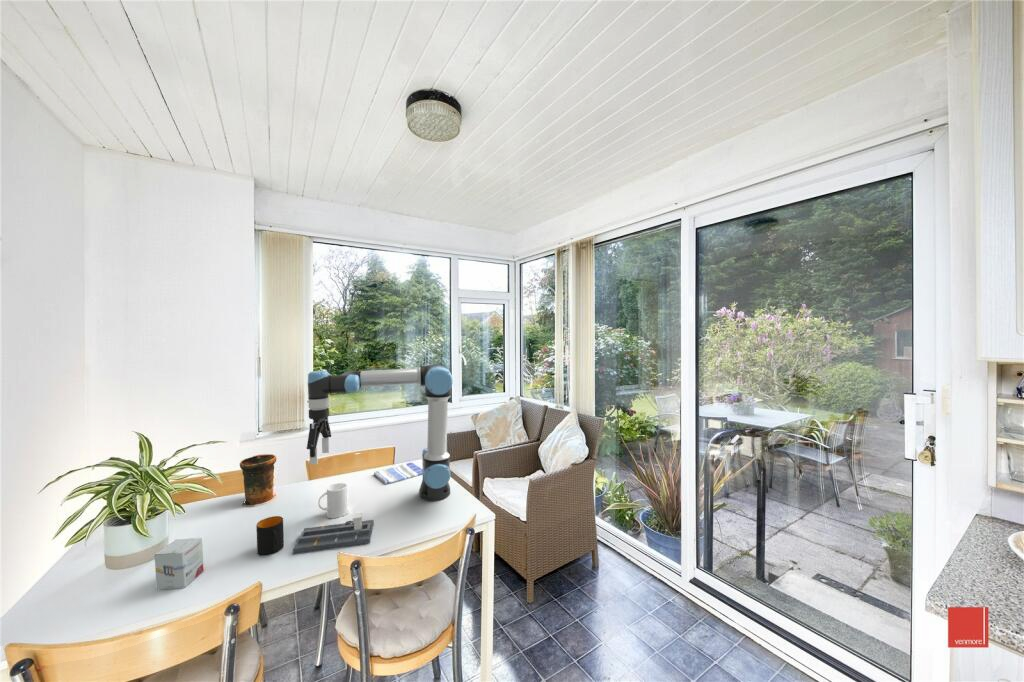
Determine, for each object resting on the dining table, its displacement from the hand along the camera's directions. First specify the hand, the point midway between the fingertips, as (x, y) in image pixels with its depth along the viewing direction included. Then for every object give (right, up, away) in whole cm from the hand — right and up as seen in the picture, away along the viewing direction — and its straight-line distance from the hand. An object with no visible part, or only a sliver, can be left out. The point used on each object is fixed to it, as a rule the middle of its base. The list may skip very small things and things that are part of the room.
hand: (320, 458), depth 154 cm
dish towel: (+18, -26, +50) cm, 59 cm away
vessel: (-39, -27, +20) cm, 52 cm away
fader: (+20, -25, -9) cm, 33 cm away
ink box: (-27, -29, -34) cm, 53 cm away
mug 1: (-8, -28, -19) cm, 35 cm away
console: (+12, -28, -11) cm, 32 cm away
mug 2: (+2, -27, +7) cm, 28 cm away
